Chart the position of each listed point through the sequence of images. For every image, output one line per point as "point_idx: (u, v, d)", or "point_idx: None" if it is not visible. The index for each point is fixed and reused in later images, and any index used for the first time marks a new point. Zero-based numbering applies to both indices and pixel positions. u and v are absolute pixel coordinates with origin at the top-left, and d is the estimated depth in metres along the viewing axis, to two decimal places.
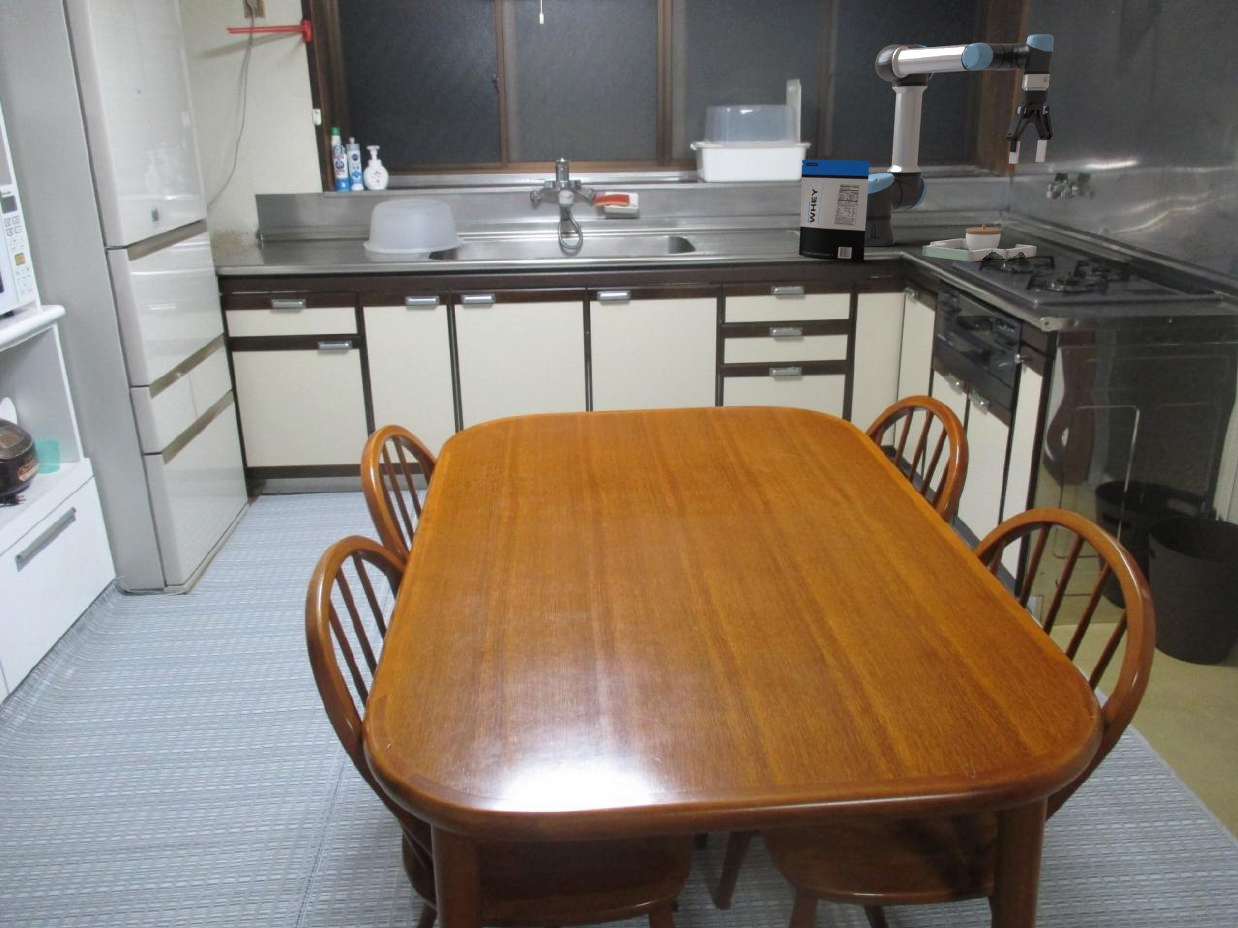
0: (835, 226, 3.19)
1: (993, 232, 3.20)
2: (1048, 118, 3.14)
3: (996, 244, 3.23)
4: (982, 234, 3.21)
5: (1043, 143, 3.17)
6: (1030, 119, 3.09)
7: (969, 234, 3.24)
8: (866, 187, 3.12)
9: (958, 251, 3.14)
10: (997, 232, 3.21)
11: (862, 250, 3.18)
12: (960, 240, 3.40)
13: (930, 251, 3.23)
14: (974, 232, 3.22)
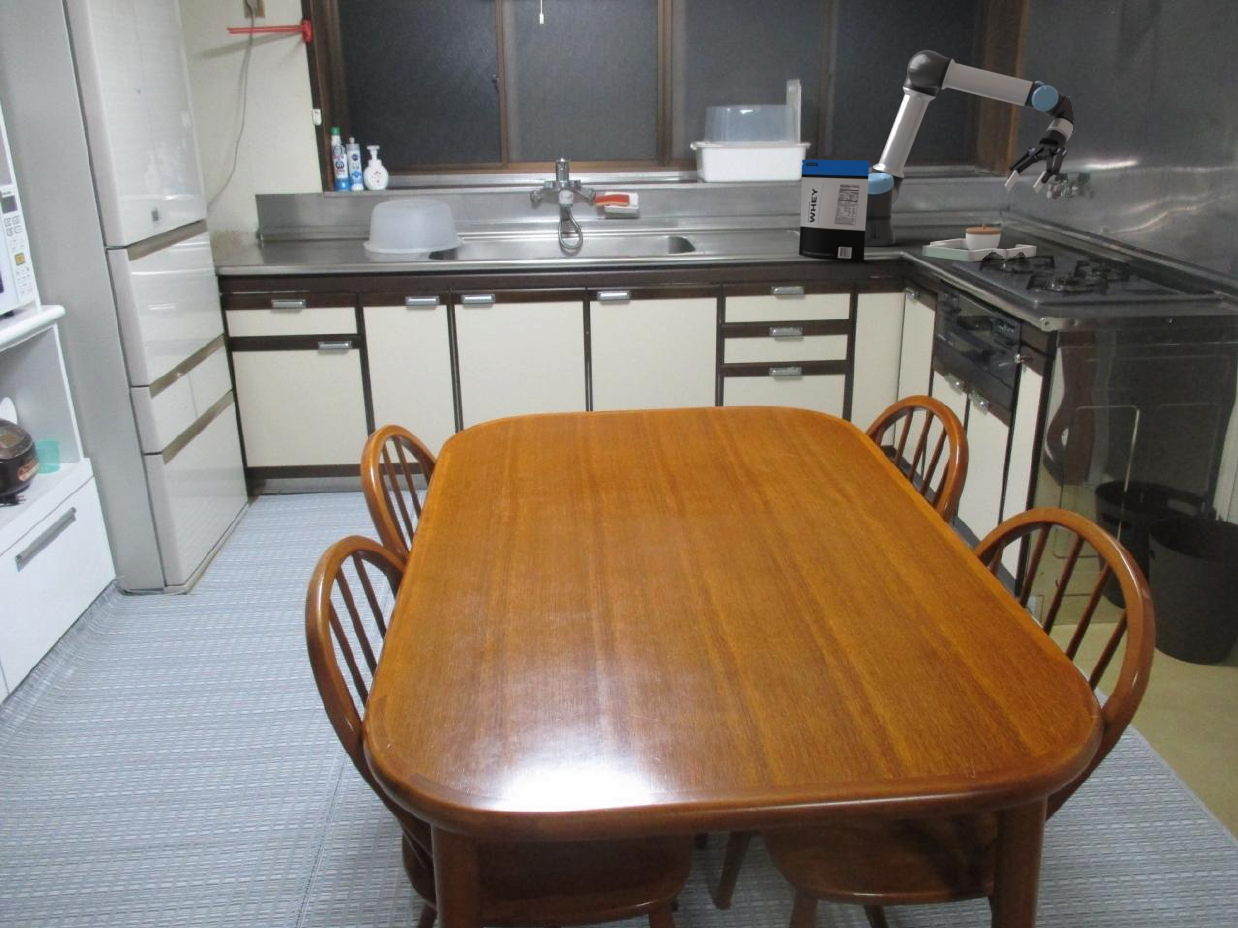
0: (835, 226, 3.19)
1: (993, 232, 3.20)
2: None
3: (996, 244, 3.23)
4: (982, 234, 3.21)
5: (1017, 177, 3.35)
6: None
7: (969, 234, 3.24)
8: (866, 187, 3.12)
9: (958, 251, 3.14)
10: (997, 232, 3.21)
11: (862, 250, 3.18)
12: (960, 240, 3.40)
13: (930, 251, 3.23)
14: (974, 232, 3.22)
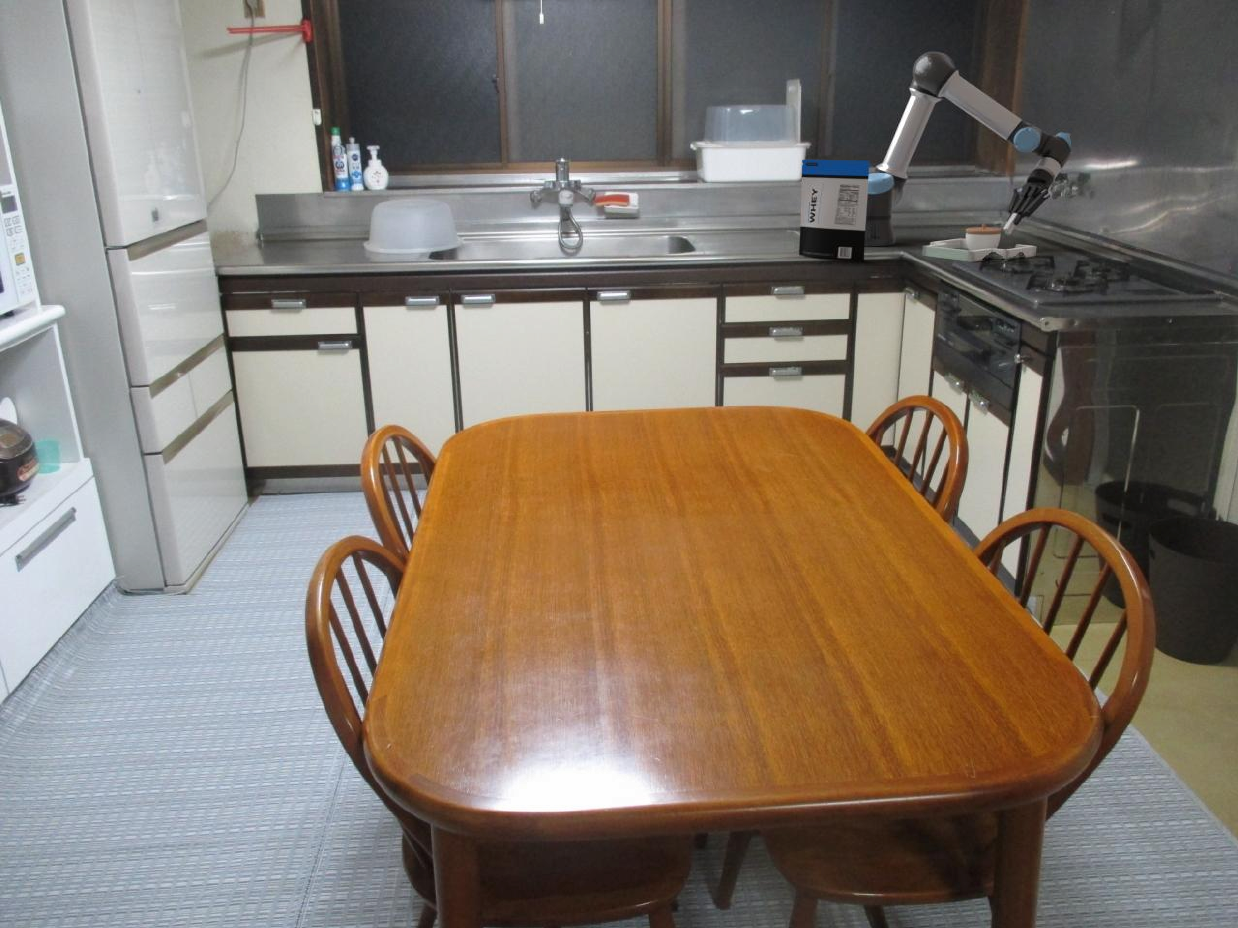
0: (835, 226, 3.19)
1: (993, 232, 3.20)
2: None
3: (996, 244, 3.23)
4: (982, 234, 3.21)
5: None
6: None
7: (969, 234, 3.24)
8: (866, 187, 3.12)
9: (958, 251, 3.14)
10: (997, 232, 3.21)
11: (862, 250, 3.18)
12: (960, 240, 3.40)
13: (930, 251, 3.23)
14: (974, 232, 3.22)
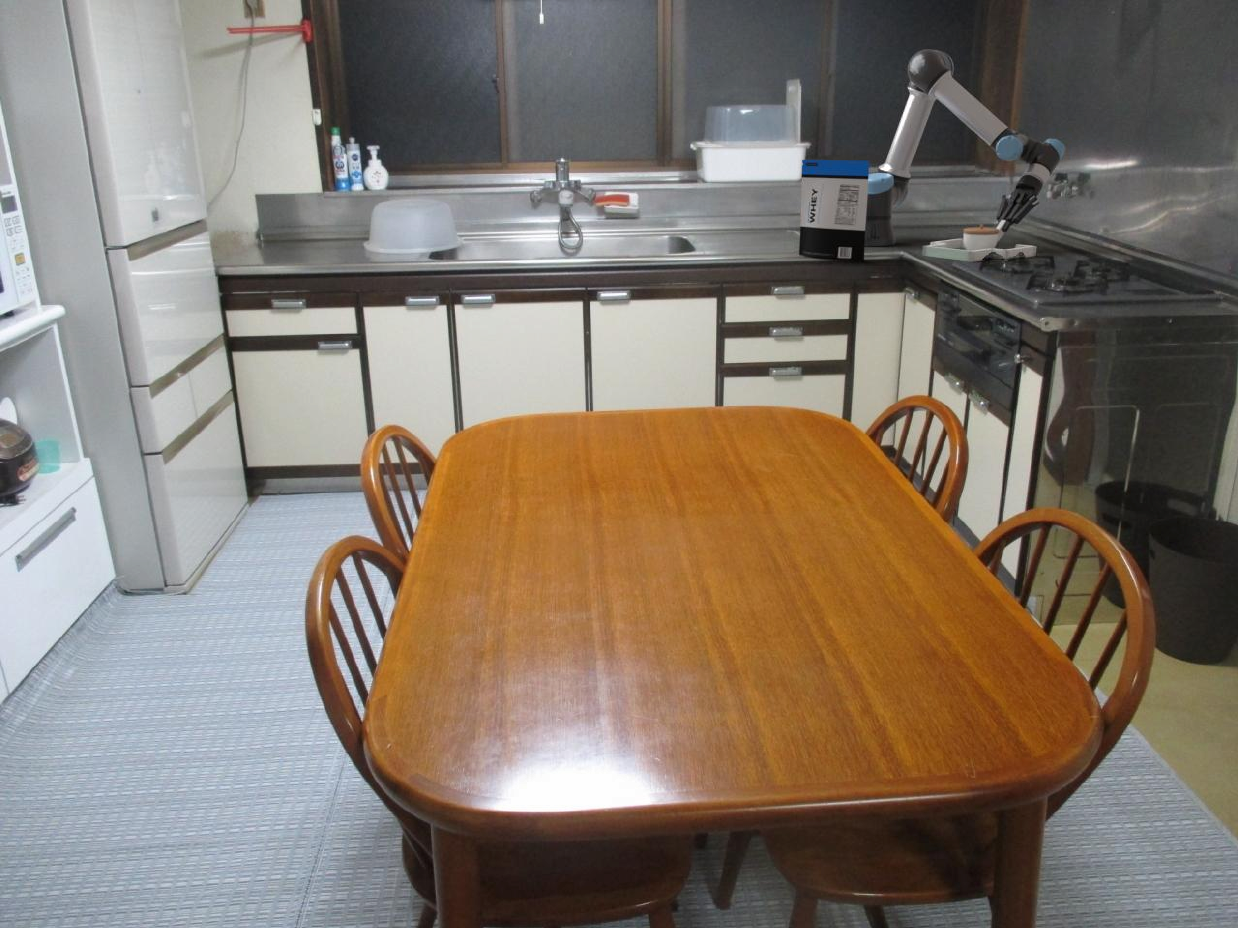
0: (835, 226, 3.19)
1: (990, 232, 3.20)
2: None
3: (994, 244, 3.22)
4: (979, 234, 3.20)
5: None
6: None
7: (967, 234, 3.23)
8: (866, 187, 3.12)
9: (958, 251, 3.14)
10: (995, 232, 3.20)
11: (862, 250, 3.18)
12: (960, 240, 3.40)
13: (930, 251, 3.23)
14: (971, 232, 3.21)
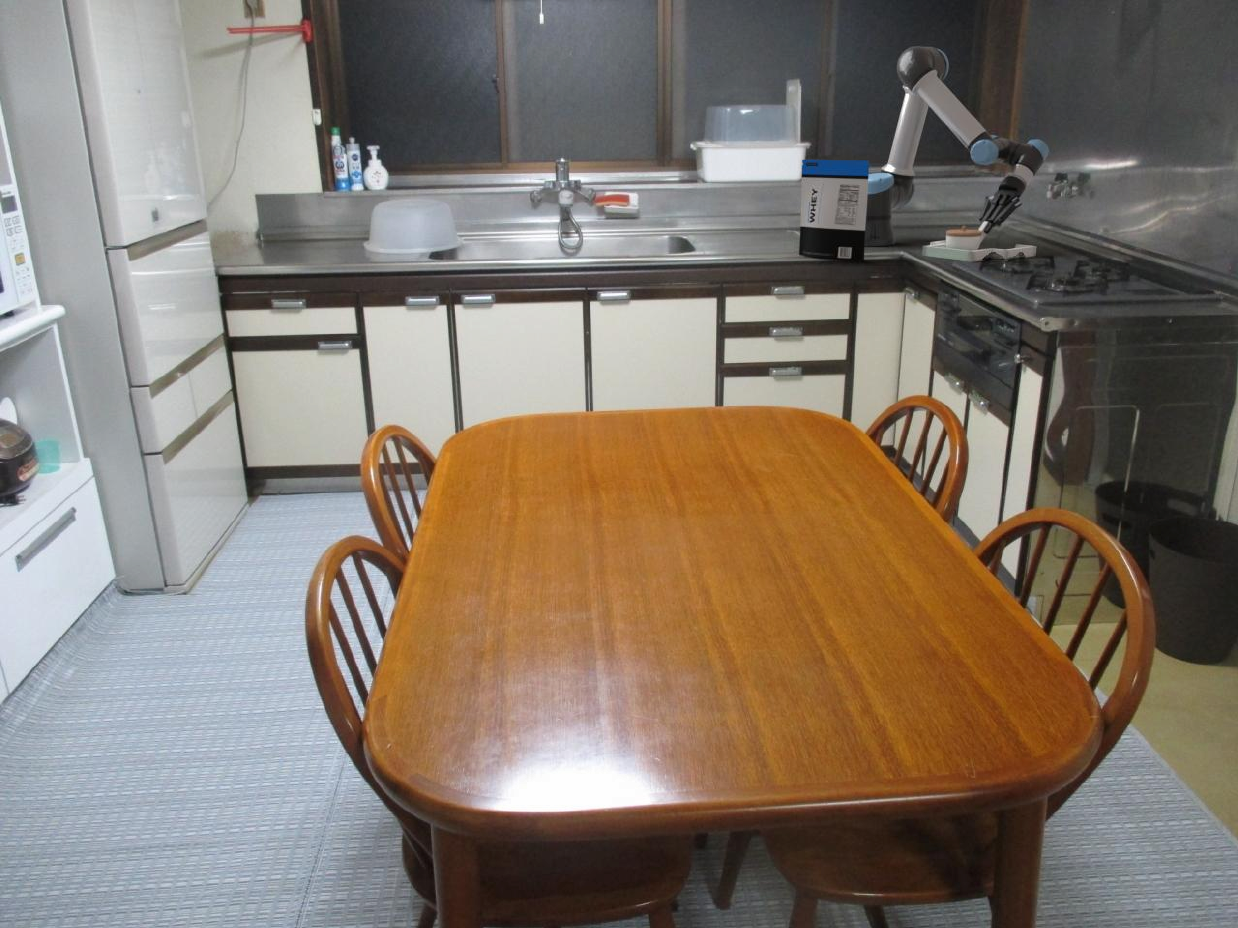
0: (835, 226, 3.19)
1: (973, 234, 3.16)
2: None
3: (976, 246, 3.18)
4: (962, 236, 3.16)
5: None
6: None
7: (949, 236, 3.19)
8: (866, 187, 3.12)
9: (958, 251, 3.14)
10: (977, 234, 3.16)
11: (862, 250, 3.18)
12: None
13: (930, 251, 3.23)
14: (954, 234, 3.17)
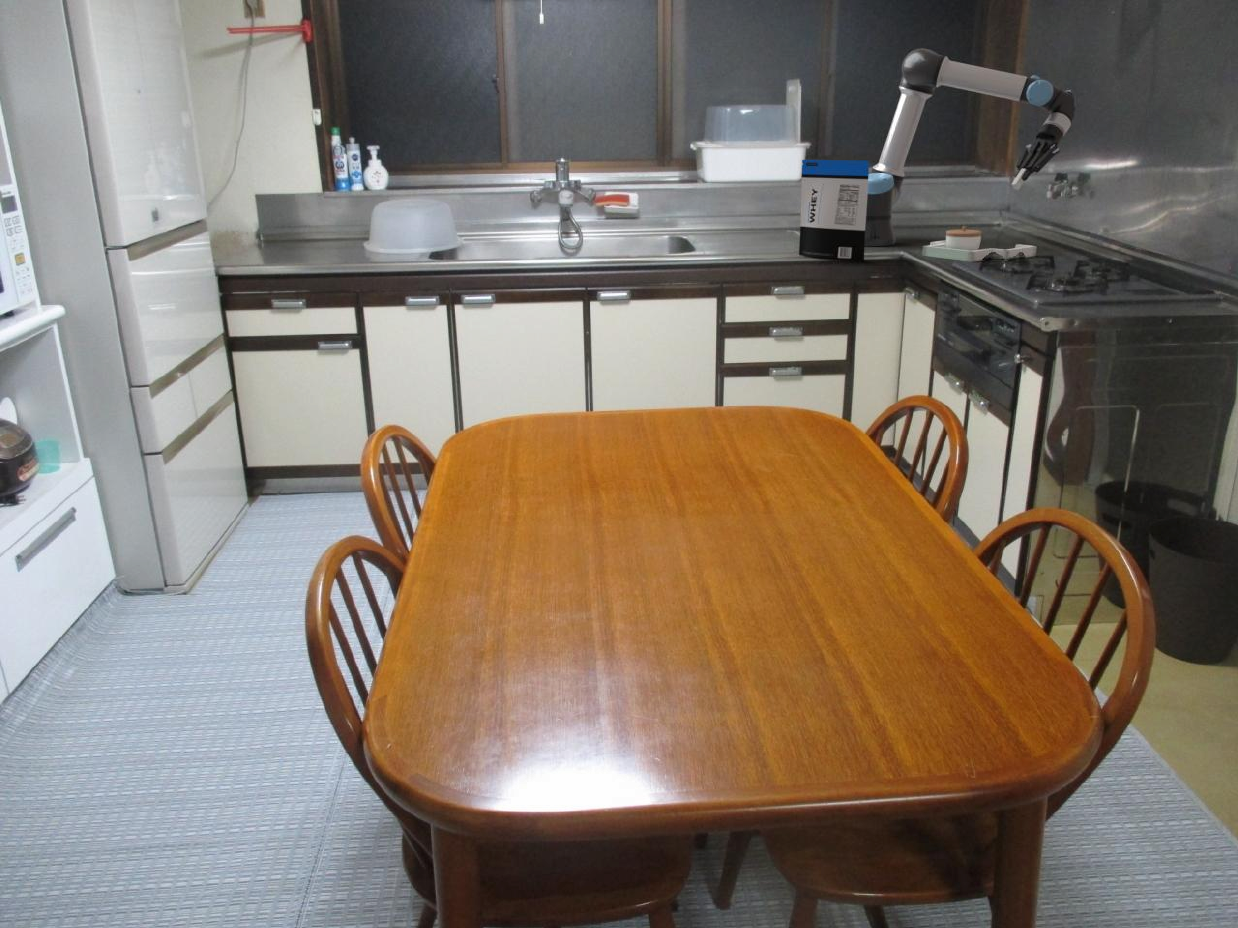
0: (835, 226, 3.19)
1: (973, 234, 3.16)
2: None
3: (976, 247, 3.18)
4: (962, 236, 3.16)
5: None
6: None
7: (949, 236, 3.19)
8: (866, 187, 3.12)
9: (958, 251, 3.14)
10: (977, 234, 3.16)
11: (862, 250, 3.18)
12: None
13: (930, 251, 3.23)
14: (954, 234, 3.17)
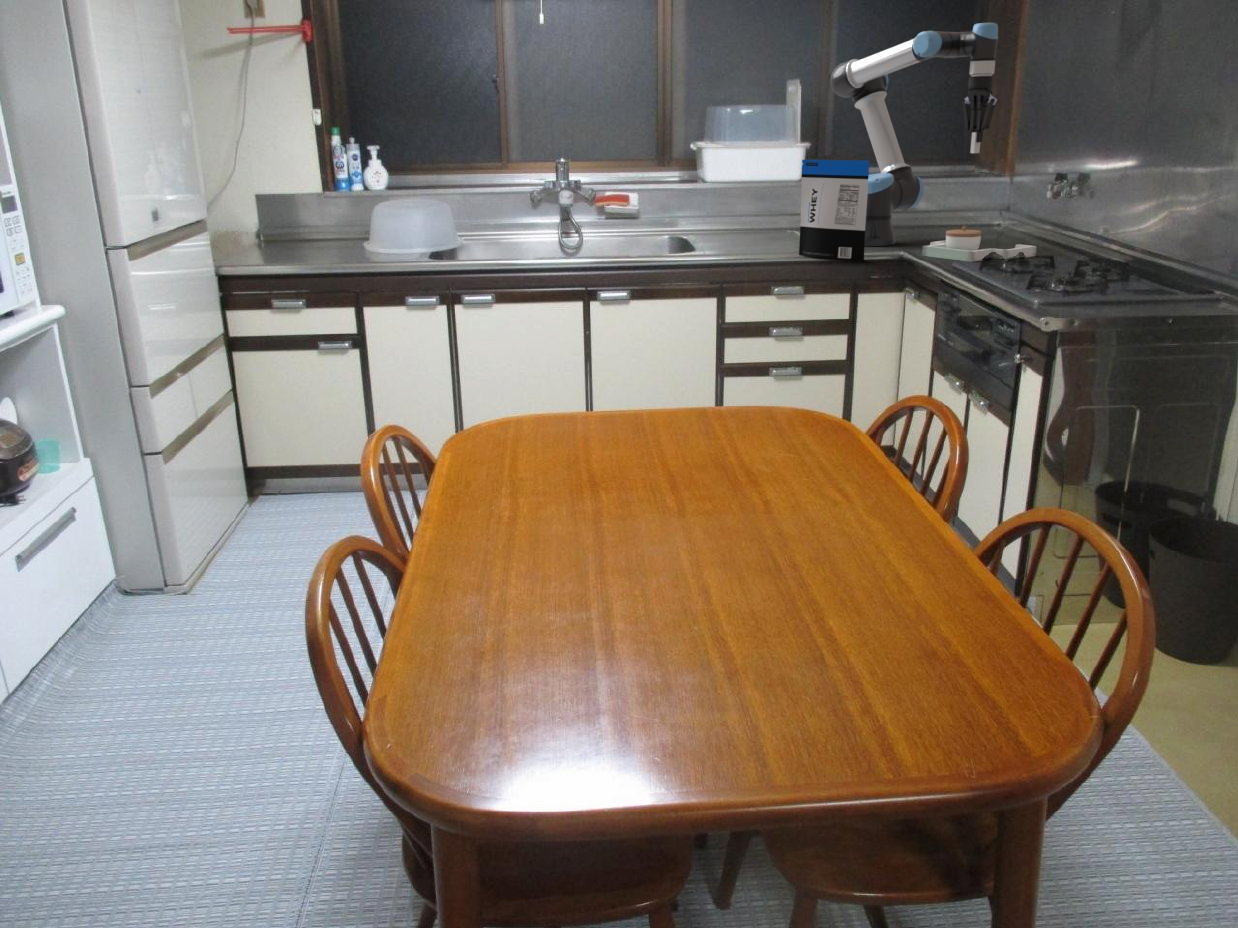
0: (835, 226, 3.19)
1: (973, 234, 3.16)
2: None
3: (976, 247, 3.18)
4: (962, 236, 3.16)
5: None
6: None
7: (949, 236, 3.19)
8: (866, 187, 3.12)
9: (958, 251, 3.14)
10: (977, 234, 3.16)
11: (862, 250, 3.18)
12: None
13: (930, 251, 3.23)
14: (954, 234, 3.17)
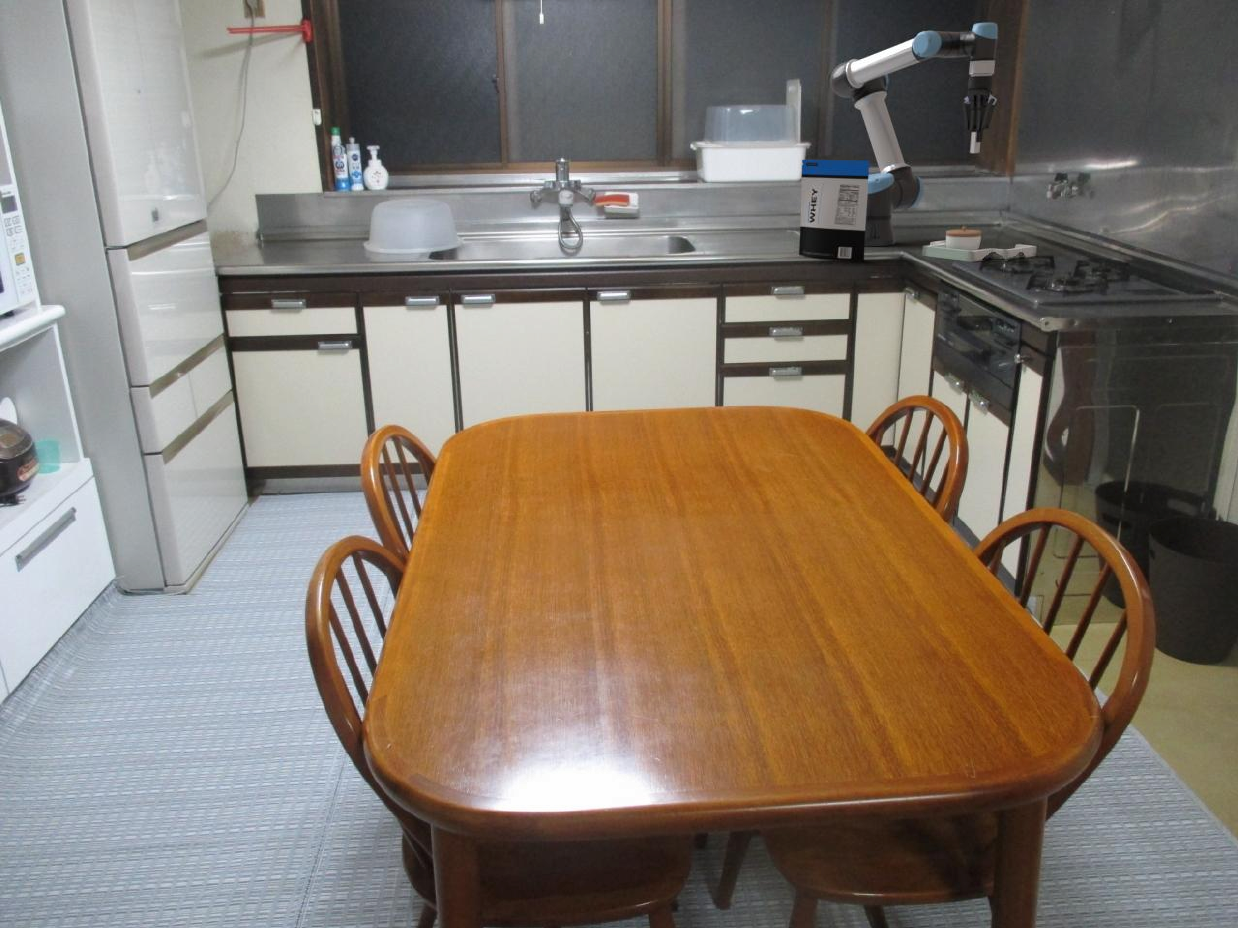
0: (835, 226, 3.19)
1: (973, 234, 3.16)
2: None
3: (976, 247, 3.18)
4: (962, 236, 3.16)
5: None
6: None
7: (949, 236, 3.19)
8: (866, 187, 3.12)
9: (958, 251, 3.14)
10: (977, 234, 3.16)
11: (862, 250, 3.18)
12: None
13: (930, 251, 3.23)
14: (954, 234, 3.17)
